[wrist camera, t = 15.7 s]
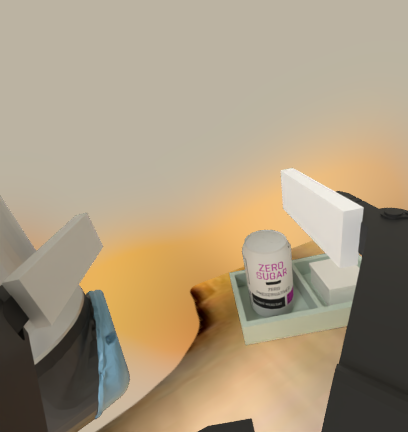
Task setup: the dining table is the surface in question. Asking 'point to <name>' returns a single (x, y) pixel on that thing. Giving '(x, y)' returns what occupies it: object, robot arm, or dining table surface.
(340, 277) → the pale grey square block
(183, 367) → the dining table surface
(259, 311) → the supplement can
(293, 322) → the divided tray
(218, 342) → the dining table surface
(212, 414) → the dining table surface
